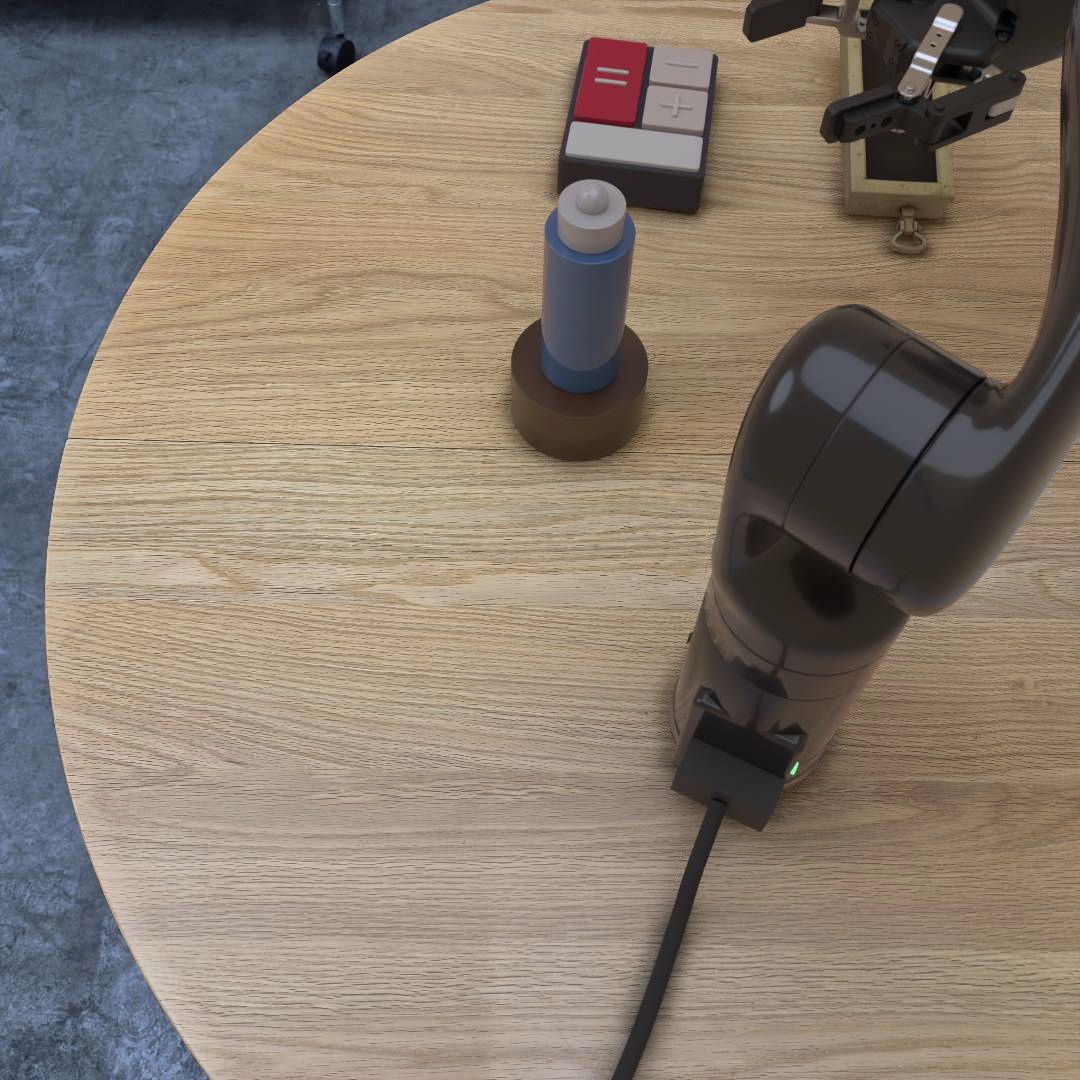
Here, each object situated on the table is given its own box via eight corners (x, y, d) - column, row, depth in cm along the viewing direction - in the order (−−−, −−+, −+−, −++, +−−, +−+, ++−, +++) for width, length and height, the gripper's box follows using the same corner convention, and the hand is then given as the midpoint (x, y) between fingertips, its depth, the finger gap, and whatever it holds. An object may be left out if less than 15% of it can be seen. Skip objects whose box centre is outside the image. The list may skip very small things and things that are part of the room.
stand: (608, 481, 80) (613, 438, 75) (488, 430, 82) (486, 385, 77) (662, 384, 84) (670, 338, 80) (546, 338, 86) (548, 290, 81)
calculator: (720, 45, 96) (706, 169, 88) (712, 91, 100) (698, 214, 92) (584, 29, 97) (557, 151, 89) (581, 75, 100) (555, 196, 92)
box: (924, 41, 100) (942, -5, 96) (946, 273, 93) (967, 236, 88) (824, 38, 100) (838, -8, 96) (838, 271, 93) (854, 233, 88)
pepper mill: (599, 405, 77) (617, 235, 64) (526, 375, 78) (529, 202, 65) (632, 348, 79) (656, 172, 66) (561, 320, 80) (571, 141, 67)
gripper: (989, -145, 67) (731, -70, 64) (1148, 11, 61) (871, 103, 58) (948, -25, 73) (713, 49, 70) (1089, 127, 67) (838, 215, 64)
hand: (785, 73), depth 64 cm, fingers open, 8 cm apart
